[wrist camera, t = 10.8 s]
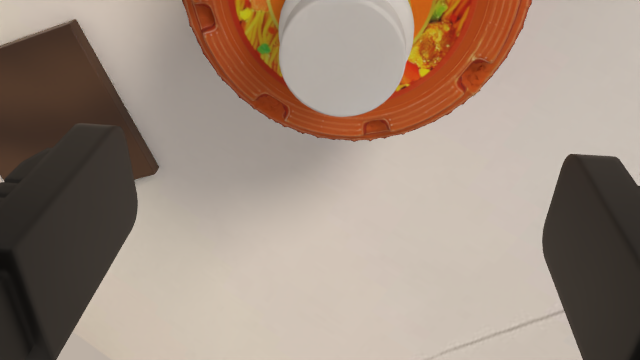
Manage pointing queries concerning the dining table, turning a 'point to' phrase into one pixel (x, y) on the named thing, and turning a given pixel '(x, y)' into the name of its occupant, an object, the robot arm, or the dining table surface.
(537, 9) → the dining table surface
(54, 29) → the plate
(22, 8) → the dining table surface
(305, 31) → the supplement bottle
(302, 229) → the dining table surface
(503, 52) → the food container
